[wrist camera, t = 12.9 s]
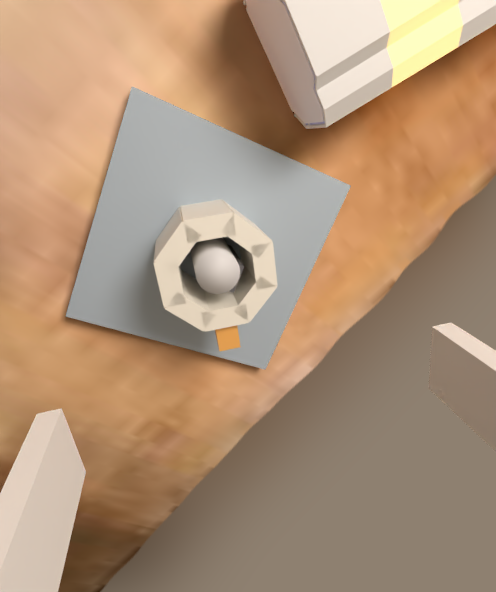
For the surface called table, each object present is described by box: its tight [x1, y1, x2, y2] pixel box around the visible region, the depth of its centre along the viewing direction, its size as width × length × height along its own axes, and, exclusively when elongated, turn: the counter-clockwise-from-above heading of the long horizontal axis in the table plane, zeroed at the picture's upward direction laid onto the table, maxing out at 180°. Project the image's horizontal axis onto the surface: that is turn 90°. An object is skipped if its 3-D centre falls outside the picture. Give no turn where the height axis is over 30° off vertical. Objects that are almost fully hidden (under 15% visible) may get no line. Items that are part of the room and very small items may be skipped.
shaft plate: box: [66, 87, 351, 369], centre depth 30 cm, size 18×18×7 cm
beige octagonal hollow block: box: [154, 199, 278, 351], centre depth 30 cm, size 8×10×6 cm
